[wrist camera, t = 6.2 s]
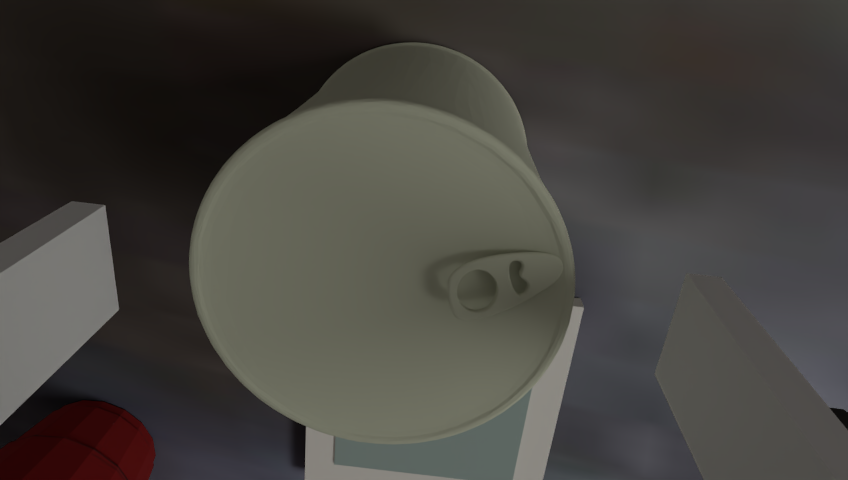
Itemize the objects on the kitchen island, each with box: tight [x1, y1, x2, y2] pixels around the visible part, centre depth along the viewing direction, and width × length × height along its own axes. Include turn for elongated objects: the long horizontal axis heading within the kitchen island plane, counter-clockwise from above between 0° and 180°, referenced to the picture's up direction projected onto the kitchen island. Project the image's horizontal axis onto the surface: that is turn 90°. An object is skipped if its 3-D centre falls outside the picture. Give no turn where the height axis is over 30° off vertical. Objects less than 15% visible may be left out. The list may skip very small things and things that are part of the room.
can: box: [189, 42, 575, 444], centre depth 19 cm, size 9×9×12 cm
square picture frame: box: [305, 298, 584, 480], centre depth 29 cm, size 12×12×1 cm
